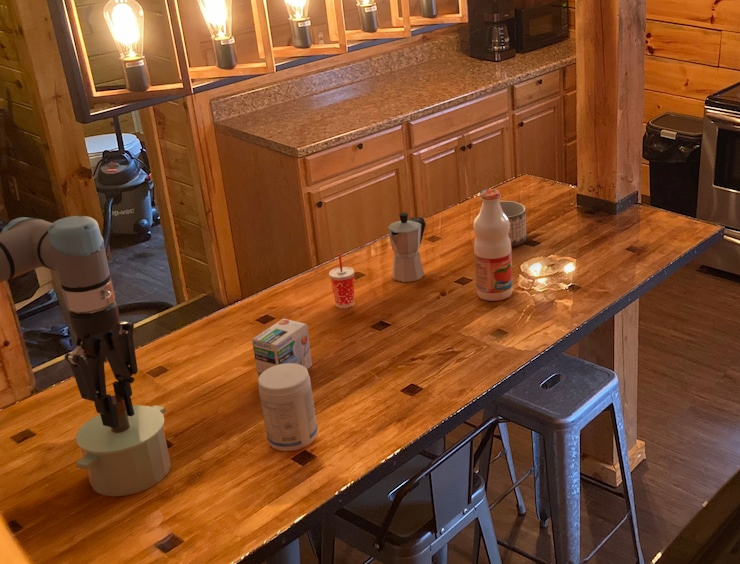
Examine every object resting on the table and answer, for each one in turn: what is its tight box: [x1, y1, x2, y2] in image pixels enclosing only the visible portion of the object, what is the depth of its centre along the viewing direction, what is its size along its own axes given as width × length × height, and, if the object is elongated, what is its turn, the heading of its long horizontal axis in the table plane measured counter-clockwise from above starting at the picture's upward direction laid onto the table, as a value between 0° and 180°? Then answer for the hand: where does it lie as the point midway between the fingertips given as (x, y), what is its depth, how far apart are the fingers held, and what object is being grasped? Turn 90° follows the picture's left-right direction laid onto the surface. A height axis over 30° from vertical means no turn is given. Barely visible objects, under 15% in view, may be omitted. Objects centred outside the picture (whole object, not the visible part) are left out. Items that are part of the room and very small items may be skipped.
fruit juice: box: [473, 188, 514, 302], centre depth 240 cm, size 9×9×28 cm
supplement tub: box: [257, 363, 319, 452], centre depth 184 cm, size 10×10×15 cm
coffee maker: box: [387, 212, 427, 283], centre depth 252 cm, size 15×9×18 cm, turn 155°
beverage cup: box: [328, 253, 356, 309], centre depth 237 cm, size 6×6×14 cm
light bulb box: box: [251, 317, 313, 379], centre depth 207 cm, size 11×7×11 cm, turn 158°
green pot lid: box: [75, 394, 166, 455], centre depth 172 cm, size 15×15×7 cm
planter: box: [499, 200, 527, 248], centre depth 274 cm, size 13×13×10 cm
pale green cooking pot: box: [75, 404, 172, 497], centre depth 175 cm, size 14×19×10 cm
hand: (118, 419), depth 172 cm, fingers closed on green pot lid, 3 cm apart
